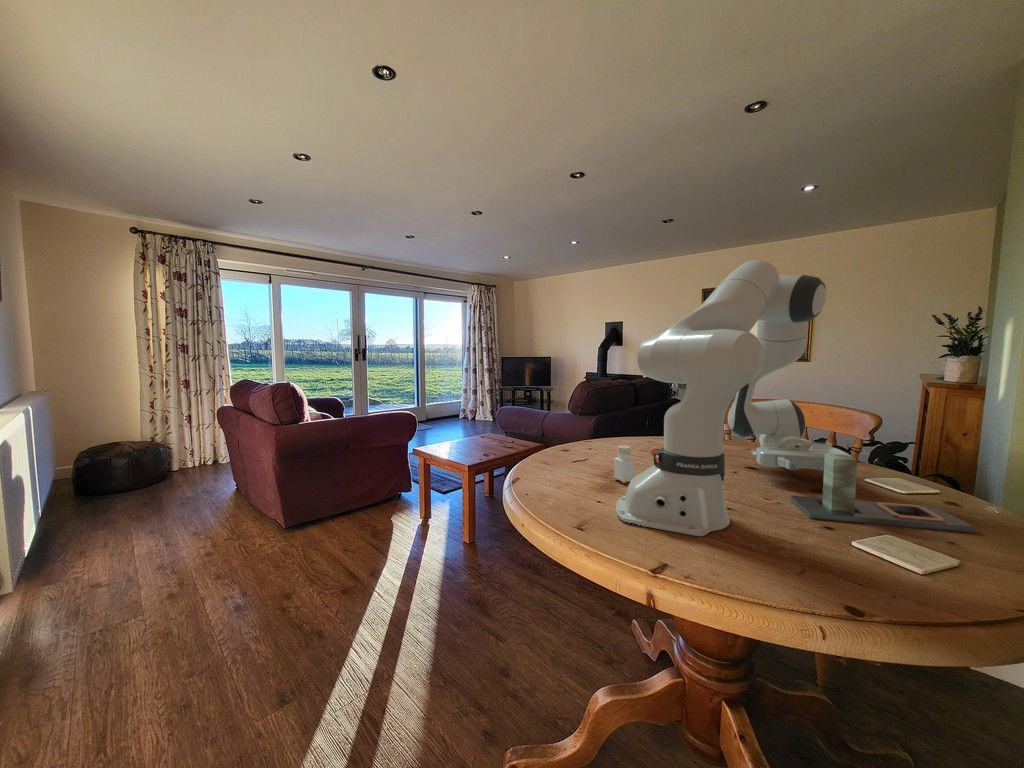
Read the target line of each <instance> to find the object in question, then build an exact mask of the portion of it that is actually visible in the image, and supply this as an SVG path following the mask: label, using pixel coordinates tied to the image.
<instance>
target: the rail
mask: <svg viewBox="0 0 1024 768" xmlns="http://www.w3.org/2000/svg"><path fill="white" fill-rule="evenodd" d="M789 500H791V501H792V502H791V501H790V502H791V503H793V505H795V506H796V507H797V508H798V509H799V511H801V512H802V513H803V514H804V515H805V516H806V517H807V518H808V519H813V520H823V521H825V520H826V521H834V522H835V521H837V522H846V523H857V524H858V523H859V524H867V525H868V524H869V525H880V526H892V527H893V526H894V527H903V528H904V527H905V528H915V529H925V530H938V531H950V532H961V533H972V534H974V530H975V529H974V528H975V526H973V525H972V524H970V523H968V522H966V521H964V520H962V519H960V518H958V517H957V516H954V515H952V514H951V513H948V512H947V511H945V510H942V509H940V508H938V507H937V506H935V505H923V504H910V503H897V502H884V501H883V502H881V501H870V500H869V501H868V500H857V499H855V512H854V513H849V512H837V511H828V510H826V509H825V508H824V507H823V506H822V501H823V497H816V496H804V495H790V499H789ZM899 513H905V514H906V513H907V514H917V515H919V516H913V515H900V514H899Z"/></svg>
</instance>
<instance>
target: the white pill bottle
mask: <svg viewBox="0 0 1024 768" xmlns="http://www.w3.org/2000/svg"><path fill="white" fill-rule="evenodd" d="M617 454H618V455H617V457H615V458H614V460H613V461H614V462H613V467H614V468H613V470H614V471H613V475H614V476H613V478H614V477H616V478H618V479H620V480H621V481H627V480H632V479H633V478H634V477H635V466H634V465H635V461H634V459H633V458H631V446H629V445H624V444H623V445H618V446H617Z"/></svg>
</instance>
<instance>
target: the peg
mask: <svg viewBox="0 0 1024 768" xmlns="http://www.w3.org/2000/svg"><path fill="white" fill-rule="evenodd" d="M852 457H853V456H852ZM852 457H850V456H848V455H835V454H825V457H824V470H823V480H822V482H823V486H822V498H823V501H822V506H823V507H824V508H825V509H826V510H828V511H837V512H849V513H854V512H855V500H856V491H857V490H856V489H857V486H856V485H857V472H858V471H857V469H858V468H857V467H858V460H857V459H856V458H854V457H853V458H852Z"/></svg>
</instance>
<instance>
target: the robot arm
mask: <svg viewBox="0 0 1024 768" xmlns="http://www.w3.org/2000/svg"><path fill="white" fill-rule="evenodd" d="M826 299H827V290H826V284H825V283H824V282H823V280H822V279H821V278H819V277H818V276H817V277H816V276H814V275H807V274H806V275H805V274H802V275H794V274H793V275H792V274H779V272H778V269H777V268H776V267H775V266H774V264H772V263H770V262H768V261H766V260H762V259H754V260H753V259H752V260H748V261H746V262H744V263H742V264H741V265H739V266H738V267H737V268H735V269H734V270H732V271H731V272H730V273H729V274H728V275H727V276H726V277H725V278H723V280H722V281H721V282H720V283H719V284H718V285H717V286H716V287H715V289H714V290H713V291H712V292H711V294H709V296H708V297H706V299H705V300H704V301H703V302H702V303H701V305H699V306H698V307H697V308H696V309H695V310H693V311H691V312H690V313H689V314H687V315H686V316H685V317H683V318H681V319H680V320H679V321H677V322H676V323H674V324H673V325H672V326H670V327H668V328H666V329H665V330H663V331H661V332H659V333H656V334H655V335H652V336H649V337H647V338H645V339H644V340H643V341H642V342H641V344H640V346H639V348H638V350H637V356H636V357H637V358H636V359H637V360H636V361H637V365H638V368H639V370H640V372H641V374H642V375H644V376H645V377H647V378H649V379H652V380H655V381H658V382H662V383H668V384H682V385H686V387H685V388H686V389H685V393H684V395H683V397H682V398H681V400H680V401H679V402H677V403H675V404H673V405H672V406H670V407H669V408H668V409H667V411H666V412H665V414H664V417H663V447H661V448H659V447H658V446H656V445H655V446H652V447H651V448H650V455H651V456H652V457H653V465H651V466H650V467H648V468H647V469H645V470H643V471H642V472H640V473H638V474H637V475H634V478H633V479H632V480H631V481H630V483H629V484H628V485H627V489H626V493H625V495H623V496H621V497H619V499H617V501H616V503H615V513H616V512H617V514H616V516H617V515H618V516H619V517H620V518H621V519H622V520H623V521H625V522H628V523H627V524H629V523H634V524H637V525H636V526H640V525H641V527H646V528H647V527H648V528H653V529H658V530H662V531H663V530H664V531H668V532H674V533H678V534H684V535H688V536H689V535H690V536H696V537H703V536H706V535H708V534H709V533H710V532H714V531H720V530H723V529H725V528H727V527H729V525H730V523H731V520H730V517H729V514H728V510H727V505H726V499H725V493H724V480H725V476H726V458H725V453H723V439H724V438H723V437H724V425H725V418H726V414H727V424H728V427H729V430H730V431H731V432H732V433H734V434H736V435H738V436H740V437H741V438H747V437H753V436H759V440H758V442H759V445H760V446H759V447H756V449H755V450H751V452H750V454H751V455H752V456H754V457H756V462H757V464H758V465H760V466H763V467H773V468H774V467H775V468H776V467H777V468H785V469H787V470H789V471H800V470H801V471H802V470H807V469H810V470H823V471H824V457H825V454H835V455H848V456H850V457H852V458H854V457H853V456H852V455H851V454H849V453H848V452H846V451H844V450H841V449H839V448H837V447H833V444H831V443H830V442H829V443H828V442H824V441H815V440H809V439H806V438H803V437H802V436H803V435H804V432H805V429H806V421H805V420H806V419H805V414H804V413H803V410H802V409H801V408H800V406H799V405H797V404H796V403H795V402H794V401H793V400H791V399H788V398H786V399H785V398H784V399H773V400H772V399H771V400H765V401H756V402H755V401H754V402H752V400H753V396H754V391H755V387H756V385H757V384H758V382H759V381H760V380H761V379H763V378H764V377H765V376H767V375H769V374H771V373H773V372H776V371H779V370H780V369H783V368H784V369H785V368H787V367H789V366H790V365H792V364H794V363H795V362H797V361H798V360H799V359H800V358H801V357H802V356H803V355H804V353H805V351H806V348H807V345H808V335H809V334H808V333H809V321H812V320H813V319H815V318H817V316H819V315H820V314H821V312H822V310H823V308H824V306H825V303H826ZM756 324H757V329H756V331H757V332H756V334H757V335H755V334H754V333H752V332H751V331H752V329H753V328H754V326H755V325H756ZM729 406H730V407H729ZM727 411H728V413H727ZM618 516H617V517H618ZM623 521H622V522H623ZM625 522H624V523H625ZM634 524H633V525H634Z"/></svg>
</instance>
